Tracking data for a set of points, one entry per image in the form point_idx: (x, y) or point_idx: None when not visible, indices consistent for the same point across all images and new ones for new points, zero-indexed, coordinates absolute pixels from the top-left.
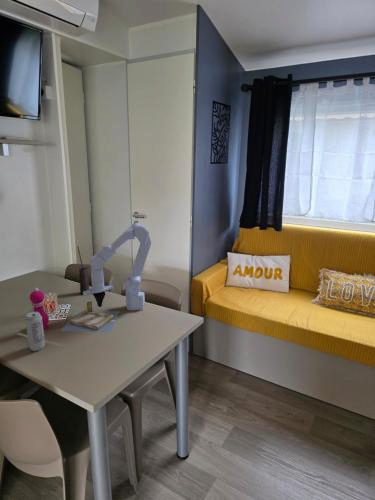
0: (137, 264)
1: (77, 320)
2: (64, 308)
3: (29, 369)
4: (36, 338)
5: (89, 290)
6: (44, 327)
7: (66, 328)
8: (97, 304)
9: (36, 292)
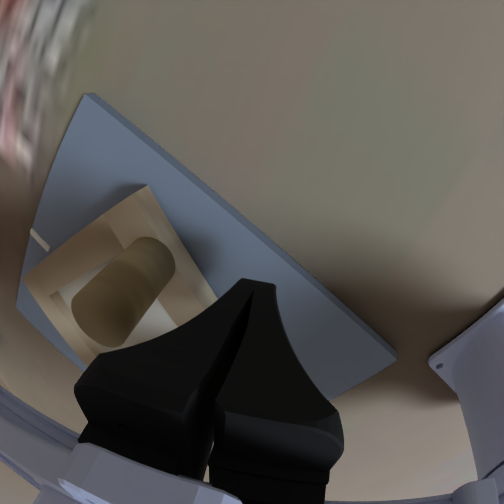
0: None
1: (59, 323)
2: None
3: (5, 381)
4: None
5: (2, 436)
6: None
7: (30, 306)
8: (234, 285)
9: None
